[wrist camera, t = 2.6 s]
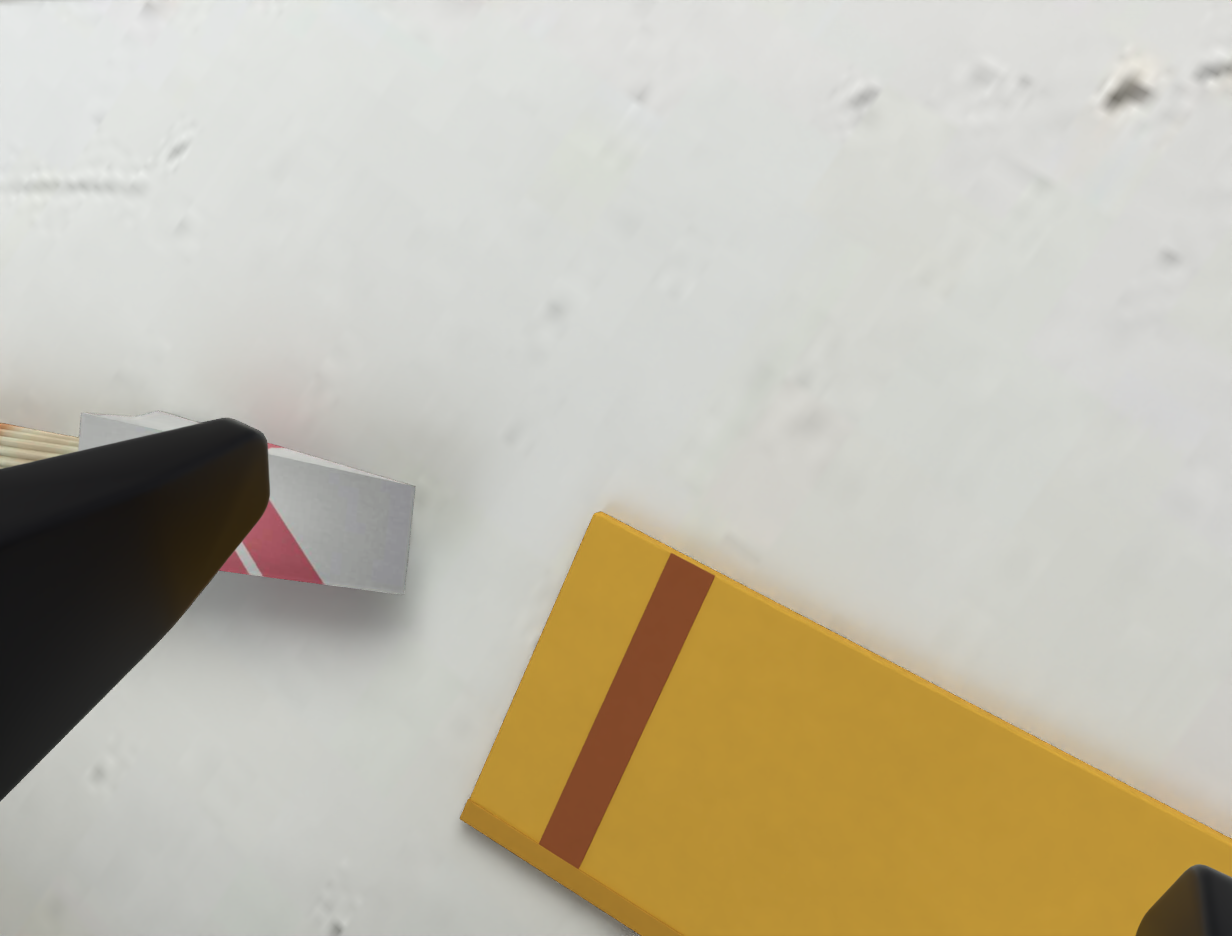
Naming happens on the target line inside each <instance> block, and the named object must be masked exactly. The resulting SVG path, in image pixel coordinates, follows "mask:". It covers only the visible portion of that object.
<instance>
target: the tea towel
mask: <svg viewBox="0 0 1232 936" xmlns="http://www.w3.org/2000/svg"><path fill="white" fill-rule="evenodd" d="M460 819H461V820H462V821H464V822H465V823H467V824H469V825H470V826H472V827H473V828H475V829H476V830H478V831H479V832H481V833H483V834H484V835H486V836H487V837H489V838H490V839H492V840H493V841H495V842H496V843H498V844H500V845H501V846H503V847H504V848H506V849H507V850H509V851H510V852H512V853H514V854H515V855H517V856H518V857H520V858H521V859H523V860H524V861H526V862H528V863H529V864H531V865H532V866H534V867H535V868H537V869H538V870H540V871H542V872H543V873H545V874H546V875H548V876H549V877H551V878H552V879H554V880H556V881H557V882H559V883H560V884H562V885H563V886H565V887H566V888H568V889H570V890H571V891H573V892H574V893H576V894H577V895H579V896H580V897H582V898H583V899H585V900H587V901H588V902H590V903H591V904H593V905H594V906H596V907H597V908H599V909H601V910H602V911H604V912H605V913H607V914H608V915H610V916H611V917H613V918H615V919H616V920H618V921H619V922H621V923H622V924H624V925H625V926H627V927H629V928H630V929H632V930H633V931H635V932H636V933H638V934H639V935H641V936H1135V935H1136V932H1137V930H1138V927H1139V925H1140V923H1141V920H1142V919H1143V917H1144V916H1145V914H1146V913H1147V912H1148V910H1149V909H1150V908H1151V907H1152V906H1153V905H1154V904H1155V903H1156V902H1157V901H1158V900H1159V899H1160V897H1161V896H1162V895H1163V894H1164V893H1165V892H1166V891H1167V890H1168V889H1169V888H1170V887H1171V886H1172V885H1173V884H1174V882H1175V881H1176V880H1177V879H1178V878H1179V877H1180V876H1181V875H1182V874H1183V873H1184V872H1185V871H1186V870H1187V869H1188V868H1190V867H1191V866H1194V865H1197V864H1202V865H1206V866H1209V867H1211V868H1213V869H1215V870H1217V871H1219V872H1222V873H1224V874H1226V875H1228V876H1230V877H1232V839H1231V838H1229V837H1227V836H1225V835H1223V834H1221V833H1219V832H1217V831H1215V830H1213V829H1211V828H1210V827H1208V826H1206V825H1204V824H1202V823H1200V822H1198V821H1196V820H1194V819H1192V818H1190V817H1188V816H1186V815H1185V814H1183V813H1181V812H1179V811H1177V810H1175V809H1173V808H1171V807H1169V806H1167V805H1165V804H1163V803H1161V802H1160V801H1158V800H1156V799H1154V798H1152V797H1150V796H1148V795H1146V794H1144V793H1142V792H1140V791H1138V790H1136V789H1134V788H1133V787H1131V786H1129V785H1127V784H1125V783H1123V782H1121V781H1119V780H1117V779H1115V778H1113V777H1111V776H1109V775H1108V774H1106V773H1104V772H1102V771H1100V770H1098V769H1096V768H1094V767H1092V766H1090V765H1088V764H1086V763H1084V762H1083V761H1081V760H1079V759H1077V758H1075V757H1073V756H1071V755H1069V754H1067V753H1065V752H1063V751H1061V750H1059V749H1058V748H1056V747H1054V746H1052V745H1050V744H1048V743H1046V742H1044V741H1042V740H1040V739H1038V738H1036V737H1034V736H1032V735H1031V734H1029V733H1027V732H1025V731H1023V730H1021V729H1019V728H1017V727H1015V726H1013V725H1011V724H1009V723H1007V722H1006V721H1004V720H1002V719H1000V718H998V717H996V716H994V715H992V714H990V713H988V712H986V711H984V710H982V709H981V708H979V707H977V706H975V705H973V704H971V703H969V702H967V701H965V700H963V699H961V698H959V697H957V696H955V695H954V694H952V693H950V692H948V691H946V690H944V689H942V688H940V687H938V686H936V685H934V684H932V683H930V682H929V681H927V680H925V679H923V678H921V677H919V676H917V675H915V674H913V673H911V672H909V671H907V670H905V669H904V668H902V667H900V666H898V665H896V664H894V663H892V662H890V661H888V660H886V659H884V658H882V657H880V656H879V655H877V654H875V653H873V652H871V651H869V650H867V649H865V648H863V647H861V646H859V645H857V644H855V643H853V642H852V641H850V640H848V639H846V638H844V637H842V636H840V635H838V634H836V633H834V632H832V631H830V630H828V629H827V628H825V627H823V626H821V625H819V624H817V623H815V622H813V621H811V620H809V619H807V618H805V617H803V616H802V615H800V614H798V613H796V612H794V611H792V610H790V609H788V608H786V607H784V606H782V605H780V604H778V603H776V602H775V601H773V600H771V599H769V598H767V597H765V596H763V595H761V594H759V593H757V592H755V591H753V590H751V589H750V588H748V587H746V586H744V585H742V584H740V583H738V582H736V581H734V580H732V579H730V578H728V577H726V576H725V575H723V574H721V573H719V572H717V571H715V570H713V569H711V568H709V567H707V566H705V565H703V564H701V563H700V562H698V561H696V560H694V559H692V558H690V557H688V556H686V555H684V554H682V553H680V552H678V551H676V550H674V549H673V548H671V547H669V546H667V545H665V544H663V543H661V542H659V541H657V540H655V539H653V538H651V537H649V536H648V535H646V534H644V533H642V532H640V531H638V530H636V529H634V528H632V527H630V526H628V525H626V524H624V523H623V522H621V521H619V520H617V519H615V518H613V517H611V516H609V515H607V514H605V513H603V512H597V513H594V515H593V517H592V519H591V522H590V524H589V526H588V528H587V531H586V533H585V535H584V538H583V540H582V542H581V544H580V547H579V549H578V551H577V554H576V556H575V558H574V561H573V563H572V565H571V567H570V570H569V572H568V574H567V577H566V579H565V581H564V583H563V586H562V588H561V590H560V593H559V595H558V597H557V600H556V602H555V604H554V606H553V609H552V611H551V613H550V616H549V618H548V620H547V622H546V625H545V627H544V629H543V632H542V634H541V636H540V639H539V641H538V643H537V645H536V648H535V650H534V652H533V655H532V657H531V659H530V661H529V664H528V666H527V668H526V671H525V673H524V675H523V678H522V680H521V682H520V684H519V687H518V689H517V691H516V694H515V696H514V698H513V700H512V703H511V705H510V707H509V710H508V712H507V714H506V717H505V719H504V721H503V723H502V726H501V728H500V730H499V733H498V735H497V737H496V739H495V742H494V744H493V746H492V749H491V751H490V753H489V756H488V758H487V760H486V762H485V765H484V767H483V769H482V772H481V774H480V776H479V778H478V781H477V783H476V785H475V788H474V790H473V792H472V795H471V797H470V799H468V800H467V803H466V805H465V807H464V810H463V812H462V814H461V816H460Z"/></svg>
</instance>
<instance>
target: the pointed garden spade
mask: <svg viewBox="0 0 1232 936" xmlns="http://www.w3.org/2000/svg"><path fill="white" fill-rule="evenodd" d="M198 423H199V422H195V421H192V420H189V419H185V418H182V417H178V416H175V415H172V414H168V413H165V412H161V411H155V412H151V413H147V414H143V415H139V416H135V417H134V416H120V415H106V414H91V413H81V421H80V434H79V437H73V436H67V435H62V434H56V433H51V432H45V431H40V430H35V429H30V428H25V427H19V426H14V425H9V424H4V423H0V469H3V468H7V467H11V466H16V465H20V464H24V463H29V462H33V461H37V460H42V459H46V458H50V457H55V456H59V455H64V454H68V453H72V452H77V451H81V450H85V449H90V448H94V447H98V446H103V445H107V444H111V443H116V442H120V441H124V440H129V439H133V438H138V437H142V436H146V435H151V434H155V433H159V432H164V431H168V430H172V429H177V428H181V427H185V426H190V425H194V424H198ZM267 444H268V459H269V479H270V498H269V502H268V505H267V508H266V510H265V512H264V514H263V516H262V517H261V518H260V520H259V521H258V522H257V524H256V525H255V526H254V527H253V529H252V530H251V531H250V532H249V534H248V535H247V536H246V537H245V539H244V540H243V541H242V542H241V544H240V545H239V546H238V547H237V549H236V550H235V551H234V552H233V554H232V555H231V556H230V557H229V558H228V560H227V561H226V562H225V563H224V565H223V566H222V567H221V568H220V570H219V571H226V572H233V573H241V574H248V575H256V576H264V577H271V578H279V579H286V580H294V581H301V582H309V583H316V584H324V585H331V586H339V587H347V588H354V589H362V590H369V591H377V592H384V593H392V594H399V595H404V591H405V582H406V572H407V563H408V553H409V543H410V534H411V524H412V515H413V505H414V495H415V486H413V485H409V484H406V483H403V482H399V481H396V480H392V479H389V478H386V477H382V476H379V475H375V474H372V473H369V472H365V471H362V470H358V469H355V468H352V467H348V466H345V465H341V464H338V463H335V462H331V461H328V460H324V459H321V458H318V457H314V456H311V455H307V454H304V453H301V452H297V451H294V450H290V449H287V448H284V447H280V446H277V445H273V444H270V443H267Z"/></svg>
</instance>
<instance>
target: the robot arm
mask: <svg viewBox="0 0 1232 936" xmlns="http://www.w3.org/2000/svg"><path fill="white" fill-rule="evenodd" d="M269 498H270V479H269V459H268V444H267V440H266V438H265V436H264V434H263V433H261V432H260V431H259V430H257V429H254V428H252V427H250V426H248V425H246V424H244V423H241V422H239V421H237V420H235V419H231V418H221V419H216V420H211V421H207V422H203V423H198V424H194V425H190V426H185V427H181V428H177V429H172V430H168V431H164V432H159V433H155V434H151V435H146V436H142V437H138V438H133V439H129V440H124V441H120V442H116V443H111V444H107V445H103V446H98V447H94V448H90V449H85V450H81V451H77V452H72V453H68V454H64V455H59V456H55V457H50V458H46V459H42V460H37V461H33V462H29V463H24V464H20V465H16V466H11V467H7V468H3V469H0V801H1V800H2V799H3V798H4V797H5V796H6V795H7V794H8V793H9V792H10V791H11V790H12V789H13V788H14V787H15V786H16V785H17V784H18V783H19V782H20V781H21V780H22V779H23V778H24V777H25V776H26V775H27V774H28V773H29V772H30V771H31V770H32V769H33V768H34V767H35V766H36V765H37V764H38V763H39V762H40V761H41V760H42V759H43V758H44V757H45V756H46V755H47V754H48V753H49V752H50V751H51V750H52V749H53V748H54V747H55V746H56V745H57V744H58V743H59V742H60V741H61V740H62V739H63V738H64V737H65V736H66V735H67V734H68V733H69V732H70V731H71V730H72V729H73V728H74V727H75V726H76V725H77V724H78V723H79V722H80V721H81V720H82V719H83V718H84V717H85V716H86V715H87V714H88V713H89V712H90V711H91V710H92V709H93V708H94V707H95V706H96V705H97V704H98V703H99V702H100V701H101V700H102V699H103V698H104V697H105V696H106V695H107V694H108V692H109V691H110V690H111V689H112V688H113V687H114V686H115V685H116V684H117V683H118V682H119V681H120V680H121V679H122V678H123V677H124V676H125V675H126V674H127V673H128V672H129V671H130V670H131V669H132V668H133V667H134V666H135V665H136V664H137V663H138V662H139V661H140V660H141V659H142V658H143V657H144V656H145V655H146V654H147V653H148V652H149V651H150V650H151V649H152V648H153V647H154V646H155V645H156V644H157V643H158V642H159V641H160V640H161V639H162V638H163V637H164V636H165V635H166V633H167V632H168V631H169V630H170V629H171V628H172V627H173V626H174V625H175V624H176V622H177V621H178V620H179V619H180V618H181V617H182V615H183V614H184V613H185V612H186V611H187V610H188V608H189V607H190V606H191V605H192V603H193V602H194V601H195V600H196V598H197V597H198V596H199V595H200V593H201V592H202V591H203V590H204V588H205V587H206V586H207V585H208V583H209V582H210V581H211V580H212V578H213V577H214V576H215V575H216V573H217V572H218V571H219V570H220V568H221V567H222V566H223V565H224V563H225V562H226V561H227V560H228V558H229V557H230V556H231V555H232V554H233V552H234V551H235V550H236V549H237V547H238V546H239V545H240V544H241V542H242V541H243V540H244V539H245V537H246V536H247V535H248V534H249V532H250V531H251V530H252V529H253V527H254V526H255V525H256V524H257V522H258V521H259V520H260V518H261V517H262V516H263V514H264V512H265V510H266V508H267V505H268V502H269ZM1135 936H1232V877H1230V876H1228V875H1226V874H1224V873H1222V872H1219V871H1217V870H1215V869H1213V868H1211V867H1209V866H1206V865H1202V864H1197V865H1194V866H1191V867H1190V868H1188V869H1187V870H1186V871H1185V872H1184V873H1183V874H1182V875H1181V876H1180V877H1179V878H1178V879H1177V880H1176V881H1175V882H1174V884H1173V885H1172V886H1171V887H1170V888H1169V889H1168V890H1167V891H1166V892H1165V893H1164V894H1163V895H1162V896H1161V897H1160V899H1159V900H1158V901H1157V902H1156V903H1155V904H1154V905H1153V906H1152V907H1151V908H1150V909H1149V910H1148V912H1147V913H1146V914H1145V916H1144V917H1143V919H1142V920H1141V923H1140V925H1139V927H1138V930H1137V932H1136V935H1135Z"/></svg>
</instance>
